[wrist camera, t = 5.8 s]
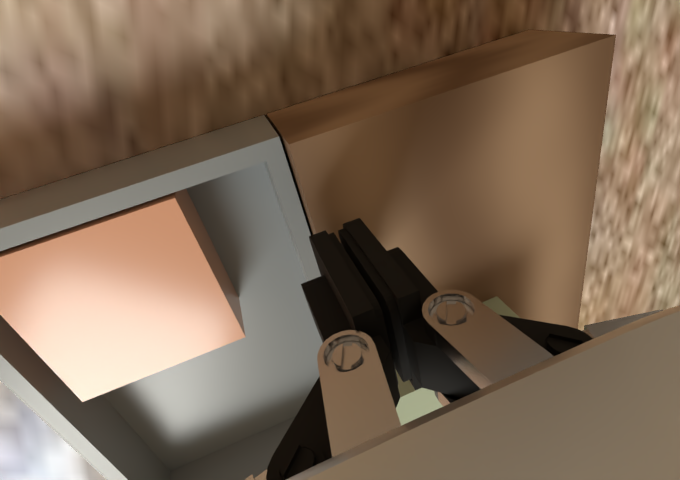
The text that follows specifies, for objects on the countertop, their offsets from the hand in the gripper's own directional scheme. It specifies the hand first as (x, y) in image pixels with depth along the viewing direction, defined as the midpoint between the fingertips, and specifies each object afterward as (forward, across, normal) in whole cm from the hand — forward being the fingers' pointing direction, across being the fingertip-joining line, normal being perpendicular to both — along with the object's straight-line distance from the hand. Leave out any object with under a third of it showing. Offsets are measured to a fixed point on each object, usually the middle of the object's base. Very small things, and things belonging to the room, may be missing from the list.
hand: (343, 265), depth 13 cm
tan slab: (+5, -5, +4) cm, 8 cm away
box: (+5, +6, +4) cm, 9 cm away
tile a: (+2, +7, 0) cm, 7 cm away
